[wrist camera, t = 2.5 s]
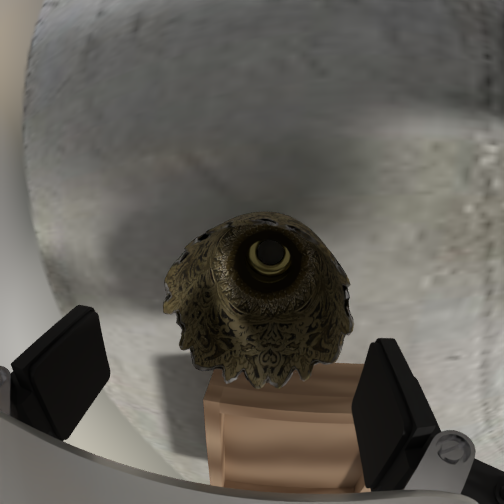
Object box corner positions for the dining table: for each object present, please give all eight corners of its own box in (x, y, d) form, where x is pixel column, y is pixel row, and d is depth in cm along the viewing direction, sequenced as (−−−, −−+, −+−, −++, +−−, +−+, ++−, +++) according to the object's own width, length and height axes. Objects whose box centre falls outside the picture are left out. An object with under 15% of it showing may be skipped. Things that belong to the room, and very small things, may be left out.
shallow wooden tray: (221, 348, 22) (203, 399, 17) (403, 361, 21) (423, 410, 16) (222, 452, 27) (211, 494, 22) (357, 461, 26) (361, 503, 20)
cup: (198, 202, 19) (138, 239, 11) (322, 181, 17) (344, 205, 10) (225, 311, 21) (192, 393, 13) (336, 298, 20) (355, 381, 12)
